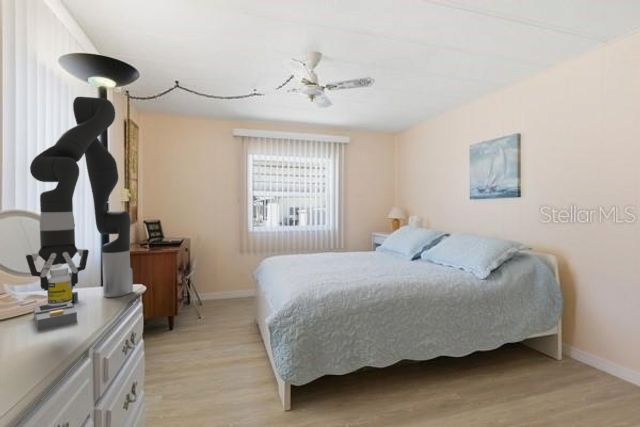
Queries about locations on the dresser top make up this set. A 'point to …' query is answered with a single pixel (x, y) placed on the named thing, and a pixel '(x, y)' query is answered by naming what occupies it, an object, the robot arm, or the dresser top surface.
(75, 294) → the stone bust sculpture
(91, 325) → the dresser top surface
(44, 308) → the gray rectangular box
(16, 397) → the dresser top surface
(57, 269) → the supplement bottle
